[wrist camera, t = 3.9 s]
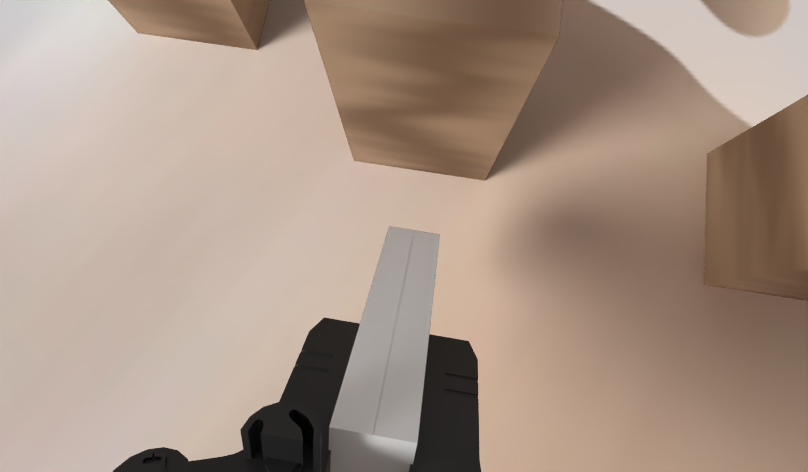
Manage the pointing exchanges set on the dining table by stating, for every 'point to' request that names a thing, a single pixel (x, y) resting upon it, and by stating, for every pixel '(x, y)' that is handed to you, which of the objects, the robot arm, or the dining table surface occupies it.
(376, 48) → the unmarked block
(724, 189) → the marked block 1
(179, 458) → the robot arm
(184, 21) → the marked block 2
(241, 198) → the dining table surface
